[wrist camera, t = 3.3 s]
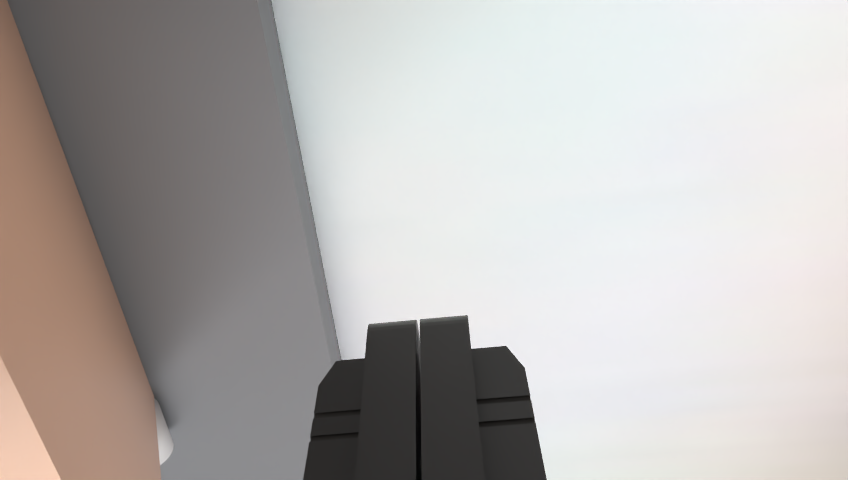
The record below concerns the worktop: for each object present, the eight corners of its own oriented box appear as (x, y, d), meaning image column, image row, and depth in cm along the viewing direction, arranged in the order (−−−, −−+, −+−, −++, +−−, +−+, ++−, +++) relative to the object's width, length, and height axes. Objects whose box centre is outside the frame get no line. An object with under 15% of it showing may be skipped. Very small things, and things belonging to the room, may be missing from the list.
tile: (-39, -124, 15) (-122, -114, 15) (-212, -74, 7) (-410, -49, 6) (154, 396, 22) (101, 412, 22) (183, 727, 14) (98, 762, 14)
